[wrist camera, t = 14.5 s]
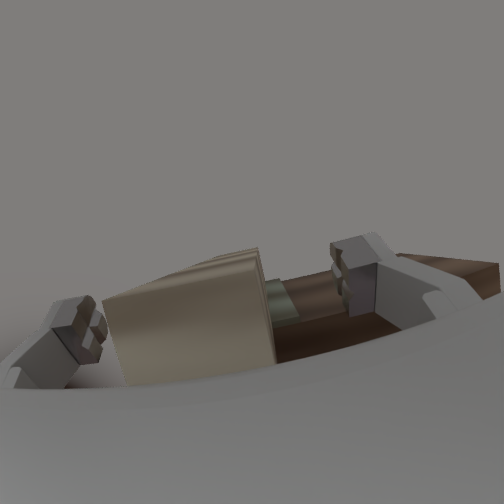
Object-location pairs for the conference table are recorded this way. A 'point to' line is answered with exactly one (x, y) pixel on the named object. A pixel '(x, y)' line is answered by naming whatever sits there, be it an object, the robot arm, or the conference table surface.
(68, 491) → the robot arm
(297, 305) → the stand
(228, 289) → the bar
